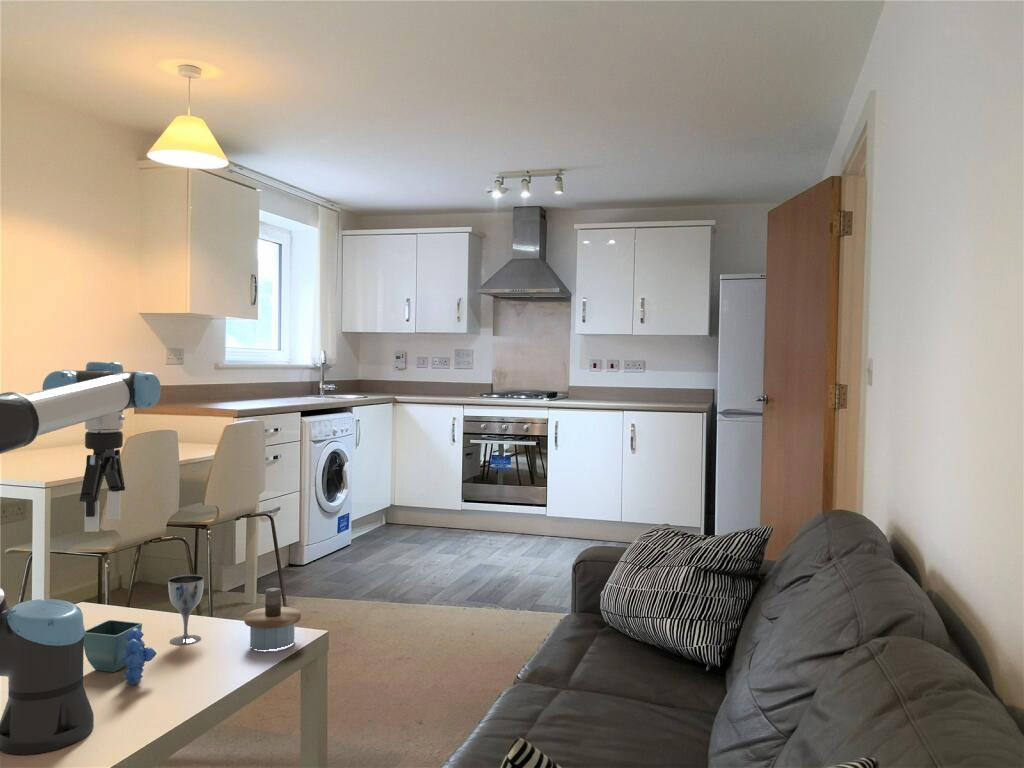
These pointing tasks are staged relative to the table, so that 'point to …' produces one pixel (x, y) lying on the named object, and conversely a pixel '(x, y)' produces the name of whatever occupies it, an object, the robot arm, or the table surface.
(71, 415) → the robot arm
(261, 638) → the bowl
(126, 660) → the grapes
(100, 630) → the flower pot
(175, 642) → the wine glass
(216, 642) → the table surface
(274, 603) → the lid
